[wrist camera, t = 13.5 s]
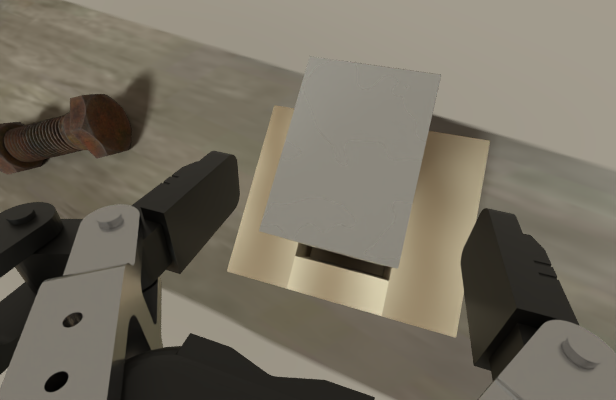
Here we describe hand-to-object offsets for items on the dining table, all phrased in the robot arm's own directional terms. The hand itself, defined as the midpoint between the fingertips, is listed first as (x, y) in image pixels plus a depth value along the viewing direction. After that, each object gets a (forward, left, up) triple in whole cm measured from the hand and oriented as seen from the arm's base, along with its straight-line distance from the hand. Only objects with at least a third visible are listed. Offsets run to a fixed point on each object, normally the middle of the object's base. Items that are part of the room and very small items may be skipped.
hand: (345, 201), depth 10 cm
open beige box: (0, -1, -14) cm, 14 cm away
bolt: (+30, -2, -15) cm, 33 cm away
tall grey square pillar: (0, -1, -11) cm, 11 cm away
